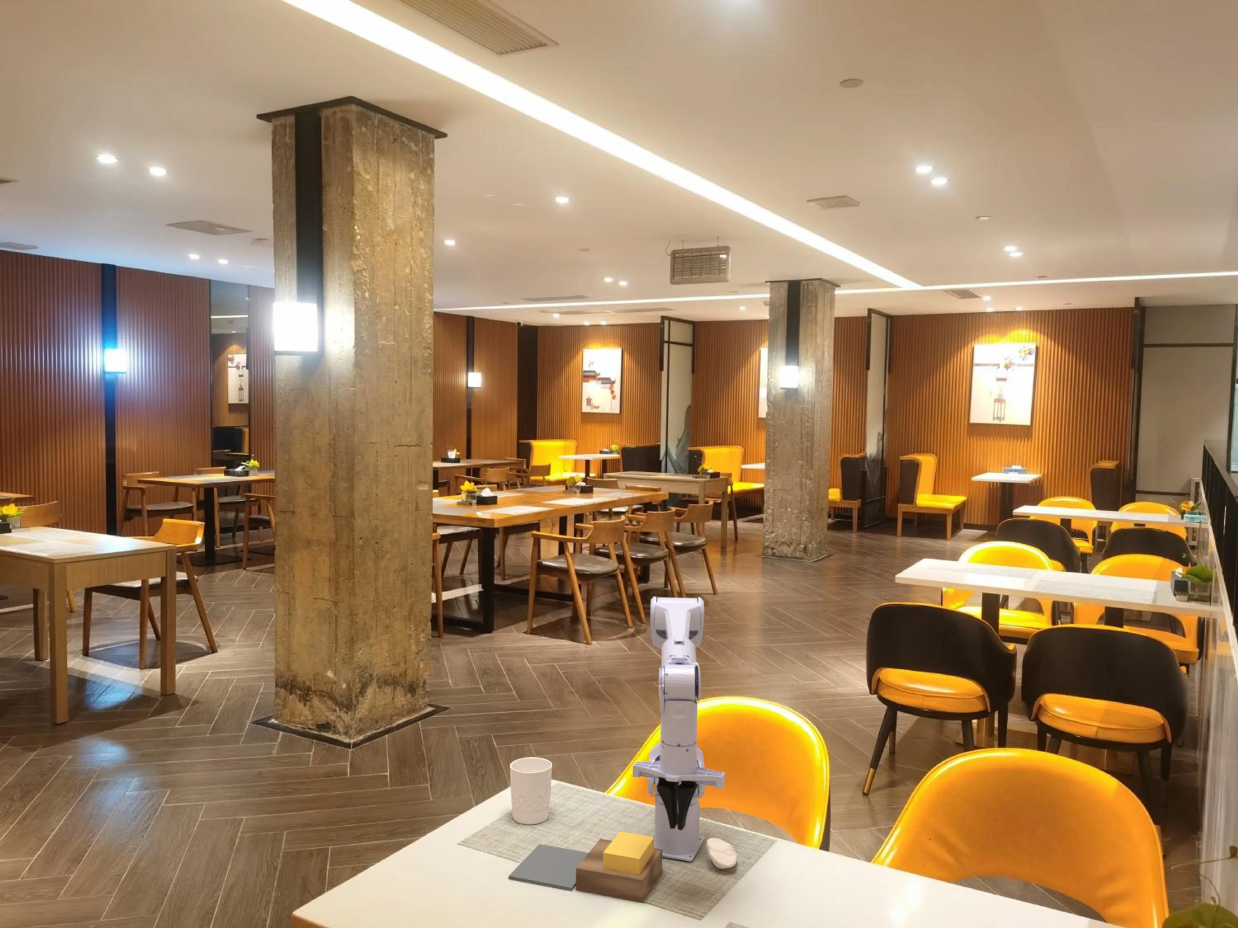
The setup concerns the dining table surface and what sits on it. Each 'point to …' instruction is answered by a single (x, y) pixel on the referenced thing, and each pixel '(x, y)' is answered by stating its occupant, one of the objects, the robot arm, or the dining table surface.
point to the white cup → (530, 789)
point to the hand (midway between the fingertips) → (677, 826)
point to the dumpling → (721, 853)
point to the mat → (550, 867)
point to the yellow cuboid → (628, 853)
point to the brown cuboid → (616, 876)
